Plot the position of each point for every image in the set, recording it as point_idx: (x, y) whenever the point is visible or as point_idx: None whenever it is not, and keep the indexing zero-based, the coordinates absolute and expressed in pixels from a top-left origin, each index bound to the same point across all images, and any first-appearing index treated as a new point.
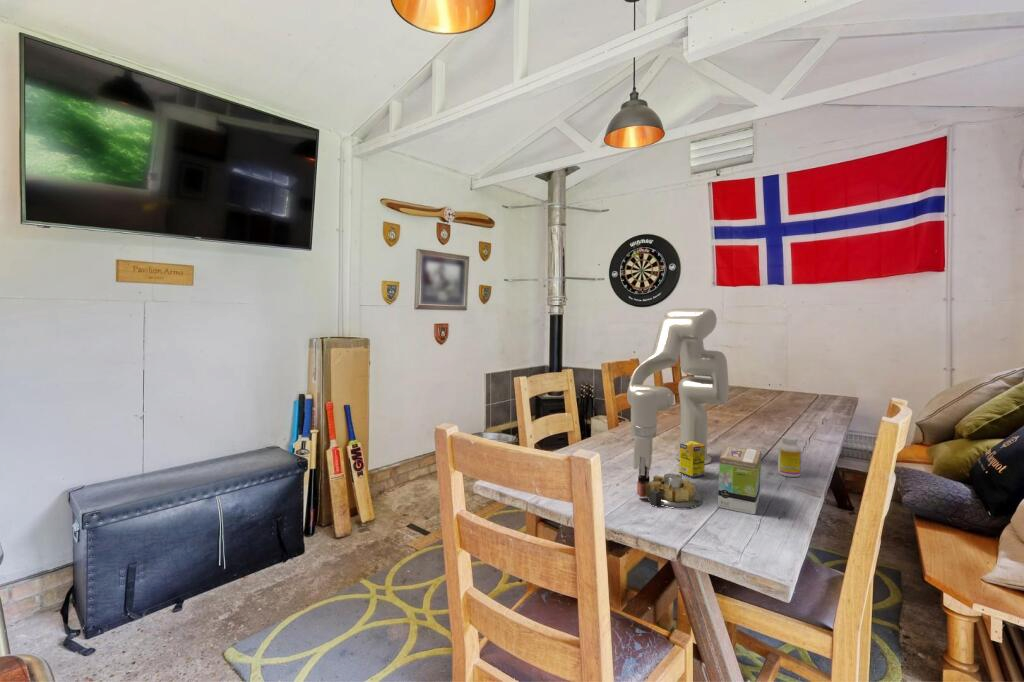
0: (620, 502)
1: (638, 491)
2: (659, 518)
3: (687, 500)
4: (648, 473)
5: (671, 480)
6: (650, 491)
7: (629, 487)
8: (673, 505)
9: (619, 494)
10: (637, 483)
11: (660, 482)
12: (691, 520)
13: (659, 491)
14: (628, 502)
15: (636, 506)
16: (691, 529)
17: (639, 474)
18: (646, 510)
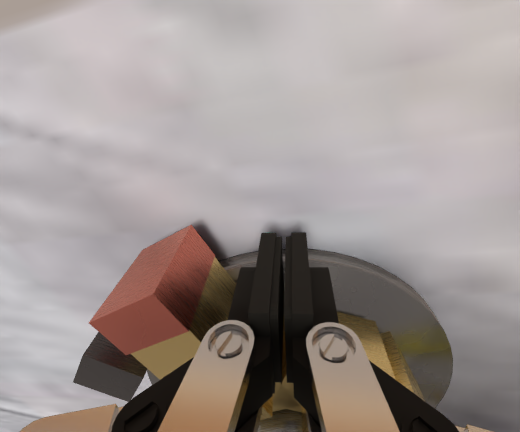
0: (46, 107)
1: (161, 250)
2: (8, 323)
3: None
4: (307, 423)
5: None
6: (83, 357)
7: (414, 120)
8: (151, 379)
9: (205, 62)
10: (155, 283)
11: (292, 408)
12: (84, 405)
13: (125, 395)
14: (88, 164)
15: (62, 220)
16: (10, 402)
17: (193, 367)
18: (49, 272)
